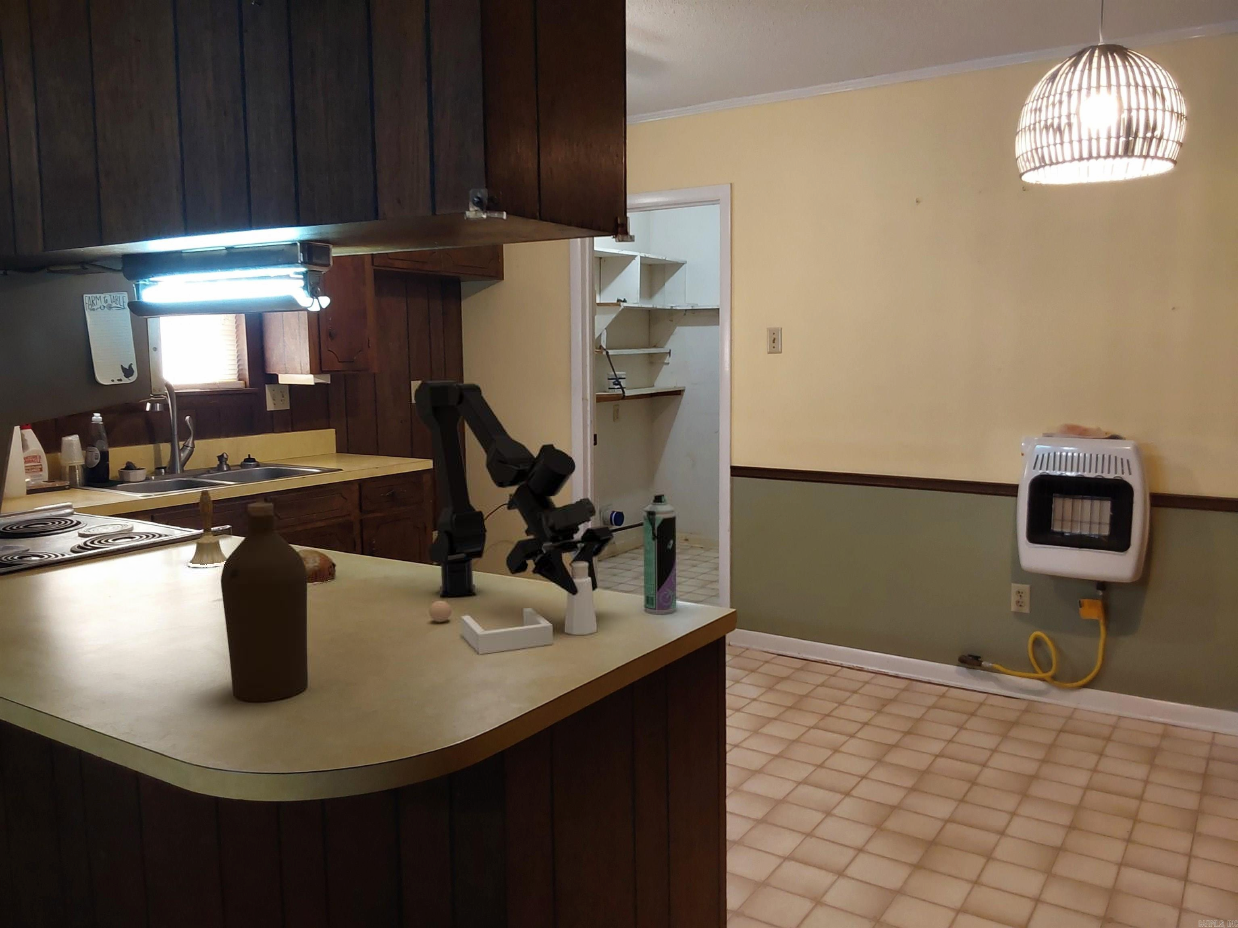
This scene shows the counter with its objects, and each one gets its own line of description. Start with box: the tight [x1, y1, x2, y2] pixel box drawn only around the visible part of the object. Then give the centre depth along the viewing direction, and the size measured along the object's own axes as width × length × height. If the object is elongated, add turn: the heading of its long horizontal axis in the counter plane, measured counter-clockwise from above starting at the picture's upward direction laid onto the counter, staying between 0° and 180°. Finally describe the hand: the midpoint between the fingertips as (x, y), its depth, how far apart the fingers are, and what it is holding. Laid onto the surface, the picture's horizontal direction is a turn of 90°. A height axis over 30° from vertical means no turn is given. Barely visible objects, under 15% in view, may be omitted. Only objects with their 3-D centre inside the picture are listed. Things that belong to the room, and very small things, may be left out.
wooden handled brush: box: [189, 489, 228, 565], centre depth 204 cm, size 8×8×16 cm
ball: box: [429, 600, 452, 623], centre depth 159 cm, size 4×4×4 cm
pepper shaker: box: [564, 561, 598, 636], centre depth 152 cm, size 5×5×11 cm
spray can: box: [642, 493, 677, 615], centre depth 163 cm, size 6×6×20 cm
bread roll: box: [297, 549, 337, 583], centre depth 189 cm, size 10×10×8 cm
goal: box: [460, 607, 554, 655], centre depth 149 cm, size 11×11×3 cm
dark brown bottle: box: [220, 501, 309, 703], centre depth 126 cm, size 11×11×25 cm
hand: (585, 591), depth 151 cm, fingers closed on pepper shaker, 4 cm apart
